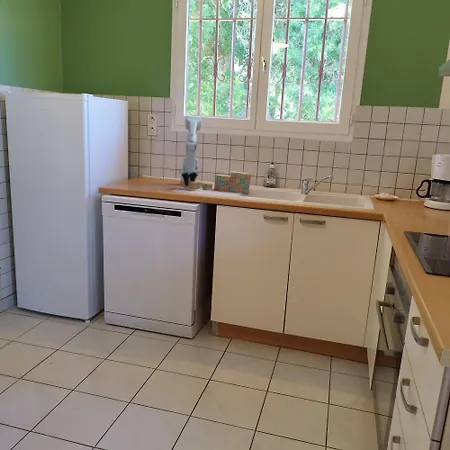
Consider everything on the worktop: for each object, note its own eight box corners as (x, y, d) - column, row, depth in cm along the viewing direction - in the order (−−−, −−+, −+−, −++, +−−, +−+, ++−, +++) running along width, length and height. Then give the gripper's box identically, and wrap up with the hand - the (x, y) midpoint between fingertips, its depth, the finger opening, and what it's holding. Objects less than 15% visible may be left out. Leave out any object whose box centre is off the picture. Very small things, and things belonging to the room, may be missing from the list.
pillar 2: (202, 189, 264) (203, 183, 263) (207, 188, 267) (207, 183, 266) (207, 190, 261) (207, 184, 261) (211, 189, 264) (212, 184, 264)
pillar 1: (195, 187, 269) (195, 181, 268) (199, 187, 272) (200, 181, 271) (199, 188, 266) (199, 182, 265) (204, 188, 269) (204, 182, 268)
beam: (180, 186, 261) (180, 180, 260) (184, 186, 263) (184, 180, 262) (193, 189, 253) (193, 182, 252) (197, 189, 255) (198, 182, 254)
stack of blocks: (213, 190, 263) (215, 169, 261) (214, 188, 269) (216, 169, 267) (248, 194, 262) (251, 174, 259) (248, 193, 268) (251, 173, 265)
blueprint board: (175, 188, 261) (175, 187, 261) (204, 187, 278) (204, 186, 278) (192, 192, 250) (192, 191, 250) (221, 191, 267) (221, 190, 267)
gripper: (185, 163, 247) (184, 187, 250) (204, 163, 257) (202, 186, 260) (177, 162, 252) (176, 185, 255) (196, 162, 262) (194, 184, 265)
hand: (189, 185), depth 258 cm, fingers closed on beam, 3 cm apart
